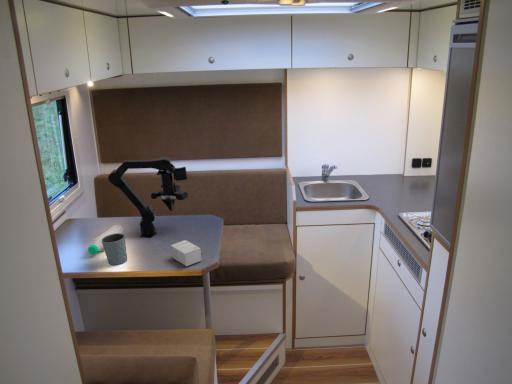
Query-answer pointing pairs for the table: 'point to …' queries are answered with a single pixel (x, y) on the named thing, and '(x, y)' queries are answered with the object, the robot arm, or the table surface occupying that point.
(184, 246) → the small box
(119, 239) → the green cup
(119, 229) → the water bottle
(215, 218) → the table surface
